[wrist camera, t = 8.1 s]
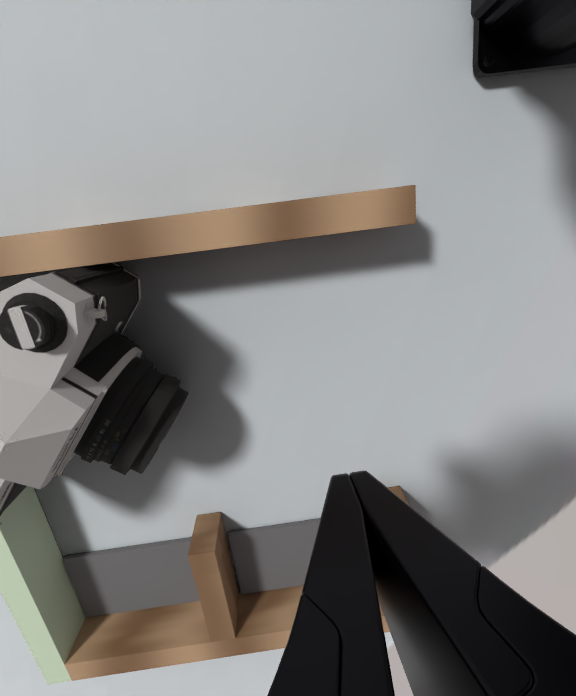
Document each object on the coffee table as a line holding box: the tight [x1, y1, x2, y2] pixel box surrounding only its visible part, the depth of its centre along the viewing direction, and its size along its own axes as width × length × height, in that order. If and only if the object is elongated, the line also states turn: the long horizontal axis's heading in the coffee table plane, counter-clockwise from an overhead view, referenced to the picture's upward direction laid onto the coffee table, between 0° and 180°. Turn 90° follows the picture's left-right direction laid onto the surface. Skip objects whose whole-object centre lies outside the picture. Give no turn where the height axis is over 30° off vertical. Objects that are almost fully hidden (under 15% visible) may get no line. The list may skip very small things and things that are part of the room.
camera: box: [0, 262, 188, 525], centre depth 16 cm, size 13×8×9 cm, turn 150°
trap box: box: [0, 185, 416, 681], centre depth 20 cm, size 24×26×3 cm
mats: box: [63, 518, 321, 618], centre depth 24 cm, size 20×5×1 cm, turn 97°
